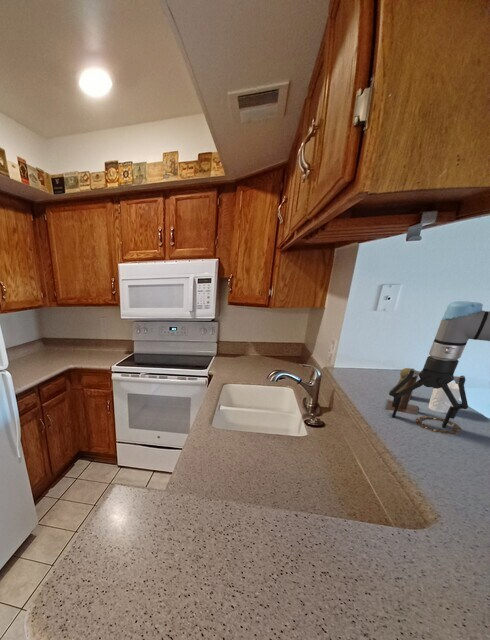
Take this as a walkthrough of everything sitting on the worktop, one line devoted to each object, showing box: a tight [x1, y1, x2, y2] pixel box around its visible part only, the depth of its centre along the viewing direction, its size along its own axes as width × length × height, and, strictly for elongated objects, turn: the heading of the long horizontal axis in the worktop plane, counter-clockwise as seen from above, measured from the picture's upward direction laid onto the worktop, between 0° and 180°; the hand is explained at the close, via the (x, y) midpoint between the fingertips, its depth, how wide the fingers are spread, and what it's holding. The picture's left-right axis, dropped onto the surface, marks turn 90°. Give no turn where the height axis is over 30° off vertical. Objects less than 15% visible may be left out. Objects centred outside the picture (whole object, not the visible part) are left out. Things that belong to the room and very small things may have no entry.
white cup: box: [428, 381, 466, 414], centre depth 115 cm, size 8×8×10 cm
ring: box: [414, 415, 462, 435], centre depth 105 cm, size 12×12×2 cm
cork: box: [396, 367, 416, 398], centre depth 128 cm, size 6×6×11 cm
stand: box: [386, 375, 419, 416], centre depth 114 cm, size 9×9×14 cm
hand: (417, 421), depth 107 cm, fingers open, 13 cm apart
